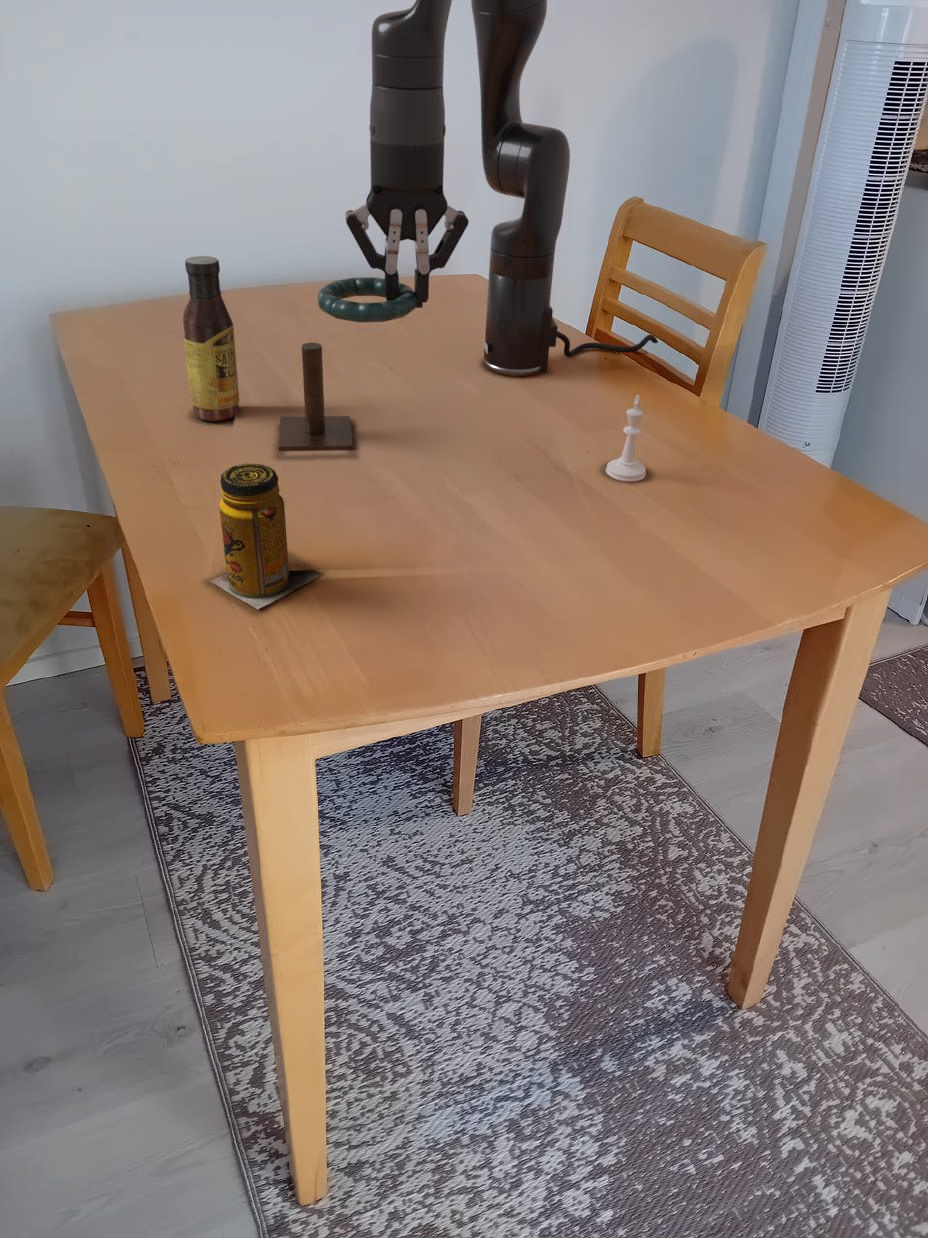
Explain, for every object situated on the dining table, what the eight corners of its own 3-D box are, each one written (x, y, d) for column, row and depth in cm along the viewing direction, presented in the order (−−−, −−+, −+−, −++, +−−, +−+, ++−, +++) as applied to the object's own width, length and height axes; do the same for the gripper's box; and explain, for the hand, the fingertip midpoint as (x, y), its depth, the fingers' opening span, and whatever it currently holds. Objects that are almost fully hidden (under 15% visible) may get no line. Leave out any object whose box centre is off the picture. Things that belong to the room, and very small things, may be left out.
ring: (411, 292, 113) (411, 274, 112) (421, 324, 105) (421, 305, 103) (317, 293, 112) (316, 275, 111) (319, 325, 103) (318, 306, 102)
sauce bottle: (229, 426, 127) (213, 269, 115) (184, 420, 127) (164, 264, 116) (248, 407, 132) (235, 255, 120) (205, 401, 133) (188, 250, 121)
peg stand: (350, 426, 128) (348, 332, 121) (352, 456, 121) (350, 359, 114) (281, 427, 127) (274, 332, 120) (279, 457, 120) (272, 359, 113)
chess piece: (648, 468, 122) (661, 392, 117) (641, 484, 118) (654, 407, 113) (610, 460, 123) (621, 385, 118) (601, 477, 120) (612, 400, 114)
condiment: (209, 582, 97) (195, 473, 90) (275, 550, 102) (267, 445, 95) (257, 611, 93) (247, 500, 86) (323, 577, 99) (318, 469, 92)
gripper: (469, 129, 103) (462, 294, 113) (337, 126, 101) (342, 295, 111) (480, 143, 97) (472, 316, 107) (340, 140, 95) (345, 317, 105)
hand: (406, 305), depth 109 cm, fingers closed on ring, 2 cm apart
